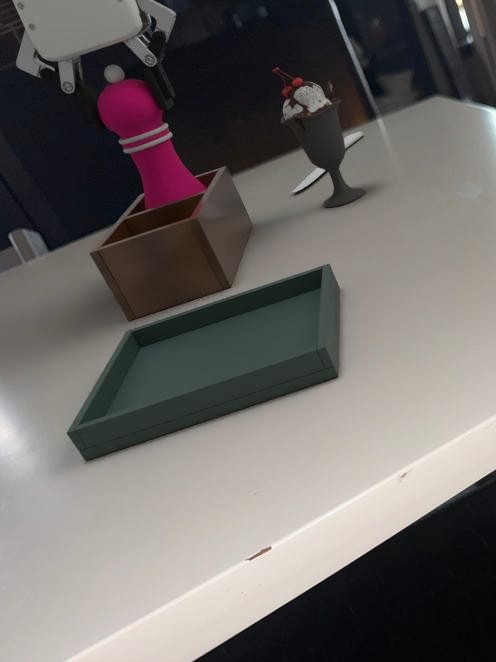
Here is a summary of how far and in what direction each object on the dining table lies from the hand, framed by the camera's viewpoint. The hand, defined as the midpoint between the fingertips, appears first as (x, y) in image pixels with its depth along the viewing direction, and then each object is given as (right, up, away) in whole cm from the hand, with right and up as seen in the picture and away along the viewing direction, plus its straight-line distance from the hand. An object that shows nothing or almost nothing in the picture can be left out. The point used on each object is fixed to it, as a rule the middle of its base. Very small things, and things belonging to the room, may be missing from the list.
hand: (135, 116), depth 76 cm
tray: (+16, -24, -20) cm, 35 cm away
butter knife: (+14, +3, +27) cm, 31 cm away
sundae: (+19, -6, +10) cm, 22 cm away
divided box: (+5, -14, +3) cm, 16 cm away
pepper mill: (+4, -13, +7) cm, 15 cm away
